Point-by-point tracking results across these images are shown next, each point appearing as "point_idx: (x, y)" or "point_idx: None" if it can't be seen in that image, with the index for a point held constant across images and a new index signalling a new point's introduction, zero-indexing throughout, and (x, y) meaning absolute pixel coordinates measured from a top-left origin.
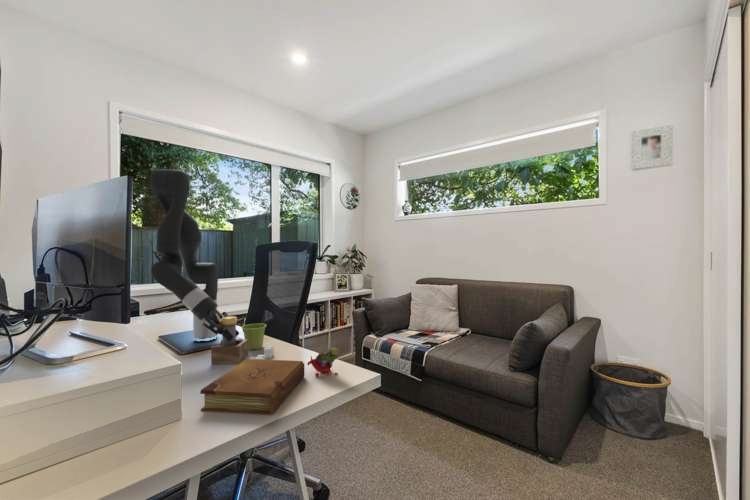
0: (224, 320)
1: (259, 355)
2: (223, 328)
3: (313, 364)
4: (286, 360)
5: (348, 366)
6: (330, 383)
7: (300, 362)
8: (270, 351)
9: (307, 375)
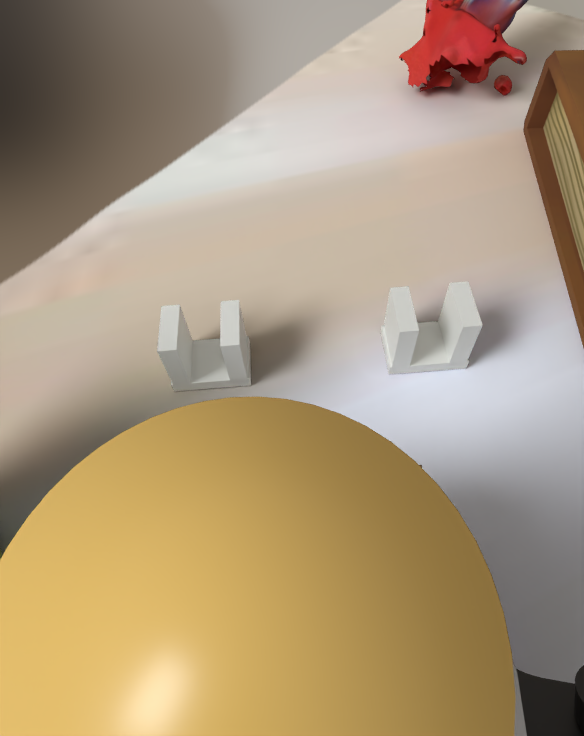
0: (501, 679)
1: (407, 318)
2: (514, 676)
3: (496, 56)
4: (574, 100)
5: (356, 40)
6: (549, 54)
7: (577, 50)
8: (241, 313)
9: (493, 123)
